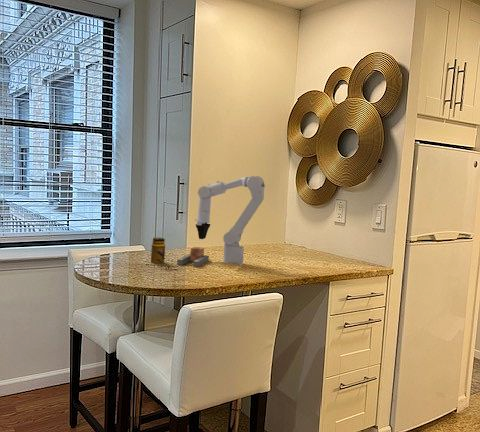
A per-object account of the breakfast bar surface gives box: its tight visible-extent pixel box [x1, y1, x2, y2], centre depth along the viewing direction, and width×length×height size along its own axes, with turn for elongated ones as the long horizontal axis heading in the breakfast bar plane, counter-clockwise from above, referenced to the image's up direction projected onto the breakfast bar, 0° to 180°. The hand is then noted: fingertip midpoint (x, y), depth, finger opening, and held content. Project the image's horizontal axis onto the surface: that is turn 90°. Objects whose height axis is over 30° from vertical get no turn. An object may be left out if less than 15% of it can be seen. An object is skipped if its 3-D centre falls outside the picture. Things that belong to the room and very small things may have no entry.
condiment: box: [145, 237, 166, 267], centre depth 218 cm, size 7×8×12 cm
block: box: [190, 246, 205, 262], centre depth 229 cm, size 5×5×6 cm
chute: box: [176, 253, 210, 268], centre depth 224 cm, size 10×18×3 cm, turn 168°
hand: (202, 238), depth 236 cm, fingers open, 3 cm apart
